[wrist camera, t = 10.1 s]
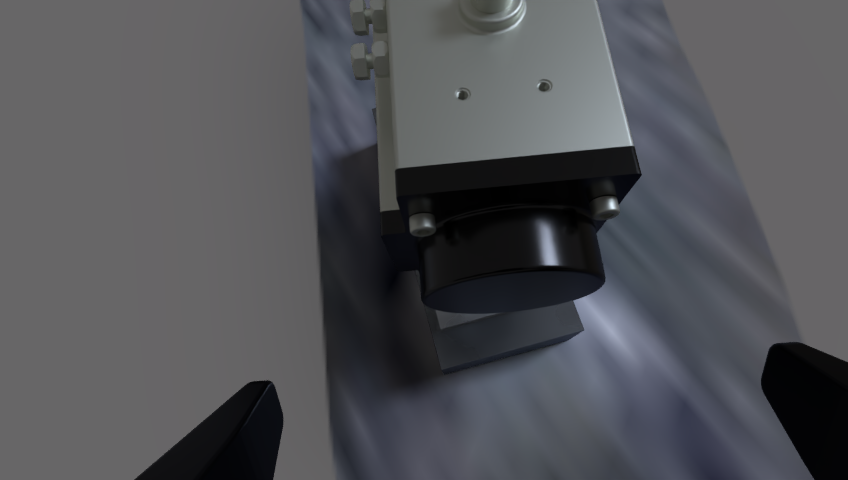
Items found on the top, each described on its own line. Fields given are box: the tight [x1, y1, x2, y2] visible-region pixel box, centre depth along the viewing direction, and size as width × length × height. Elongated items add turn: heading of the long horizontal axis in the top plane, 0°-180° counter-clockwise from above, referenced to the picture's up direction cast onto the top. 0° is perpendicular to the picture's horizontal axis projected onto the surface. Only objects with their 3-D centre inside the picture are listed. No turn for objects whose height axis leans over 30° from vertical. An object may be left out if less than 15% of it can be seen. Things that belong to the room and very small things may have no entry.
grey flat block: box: [372, 108, 584, 375], centre depth 23 cm, size 15×6×4 cm, turn 15°
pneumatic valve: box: [350, 0, 642, 314], centre depth 15 cm, size 6×12×12 cm, turn 4°
